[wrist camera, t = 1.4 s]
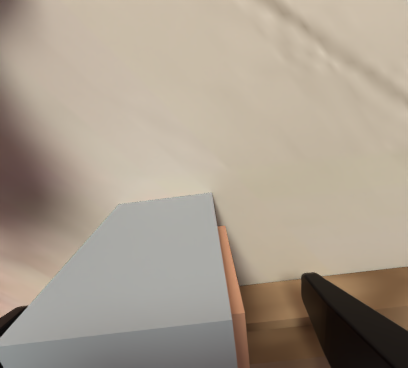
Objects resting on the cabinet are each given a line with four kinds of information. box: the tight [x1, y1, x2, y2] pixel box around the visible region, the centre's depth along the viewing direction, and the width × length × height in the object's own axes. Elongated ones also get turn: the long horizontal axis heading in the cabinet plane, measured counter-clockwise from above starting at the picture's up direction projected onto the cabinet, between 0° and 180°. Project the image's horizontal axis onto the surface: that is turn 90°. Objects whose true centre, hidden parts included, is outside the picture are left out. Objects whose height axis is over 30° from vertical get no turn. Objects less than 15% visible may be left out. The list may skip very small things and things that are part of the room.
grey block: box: [0, 193, 250, 368], centre depth 7 cm, size 4×5×6 cm
